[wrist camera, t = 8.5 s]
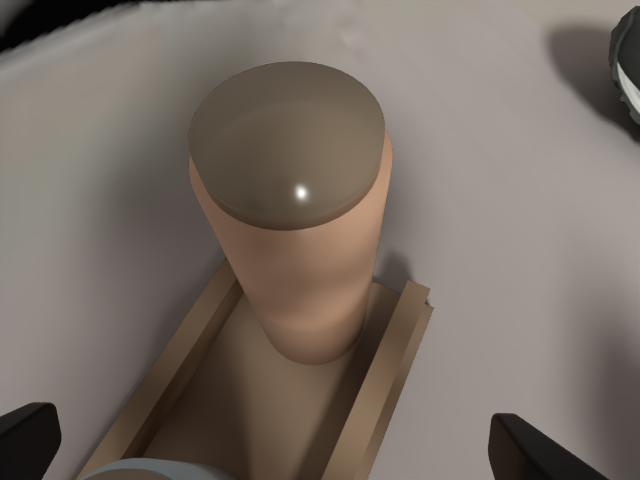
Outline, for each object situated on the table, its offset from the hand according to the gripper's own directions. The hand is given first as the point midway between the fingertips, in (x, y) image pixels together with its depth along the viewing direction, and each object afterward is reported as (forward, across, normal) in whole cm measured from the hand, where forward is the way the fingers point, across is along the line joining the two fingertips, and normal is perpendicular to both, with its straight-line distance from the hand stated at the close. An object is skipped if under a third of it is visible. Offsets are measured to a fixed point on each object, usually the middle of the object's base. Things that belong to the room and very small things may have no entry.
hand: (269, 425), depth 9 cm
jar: (+14, 0, +4) cm, 14 cm away
